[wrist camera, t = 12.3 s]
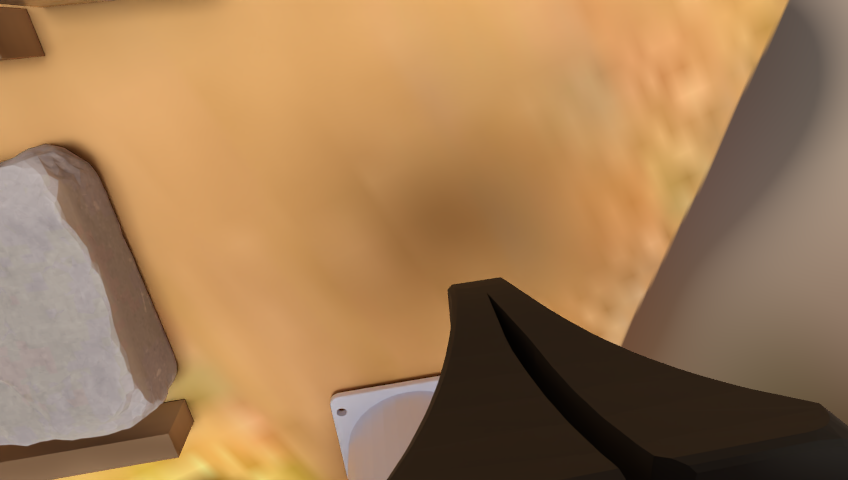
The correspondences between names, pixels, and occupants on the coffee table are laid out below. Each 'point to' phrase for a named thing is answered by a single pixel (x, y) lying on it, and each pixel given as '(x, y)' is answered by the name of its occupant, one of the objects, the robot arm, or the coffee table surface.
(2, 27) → the pallet pocket
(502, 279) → the robot arm
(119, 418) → the stone block
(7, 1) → the silver square button housing
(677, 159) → the coffee table surface
